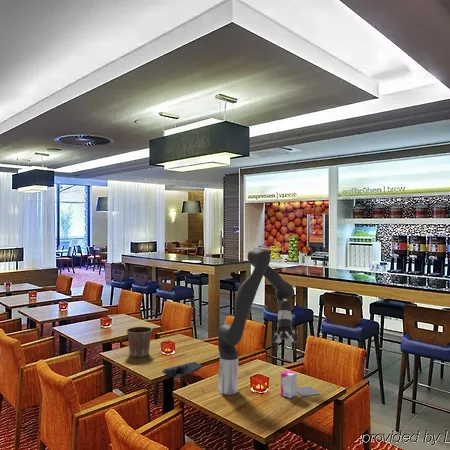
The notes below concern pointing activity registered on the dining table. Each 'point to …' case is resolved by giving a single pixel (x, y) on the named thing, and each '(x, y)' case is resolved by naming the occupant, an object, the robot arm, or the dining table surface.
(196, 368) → the dark slate chunk
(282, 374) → the supplement box
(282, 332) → the robot arm
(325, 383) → the dining table surface
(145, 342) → the plant pot
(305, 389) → the mat
